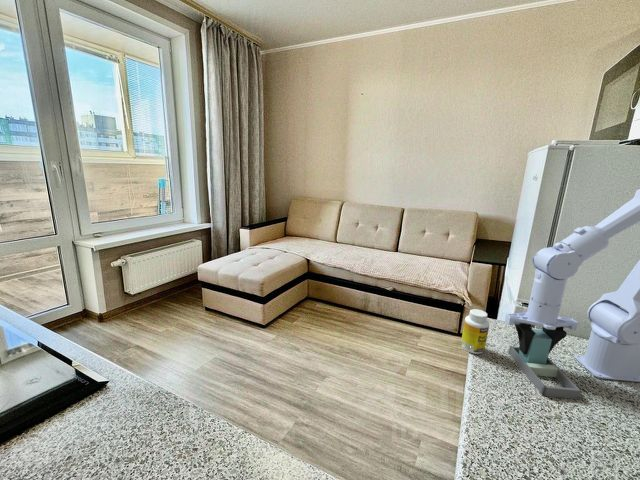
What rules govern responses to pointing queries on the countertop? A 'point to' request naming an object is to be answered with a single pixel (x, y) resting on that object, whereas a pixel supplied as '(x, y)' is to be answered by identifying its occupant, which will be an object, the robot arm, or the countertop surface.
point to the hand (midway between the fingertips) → (533, 352)
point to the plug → (538, 348)
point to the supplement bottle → (475, 331)
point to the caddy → (546, 370)
